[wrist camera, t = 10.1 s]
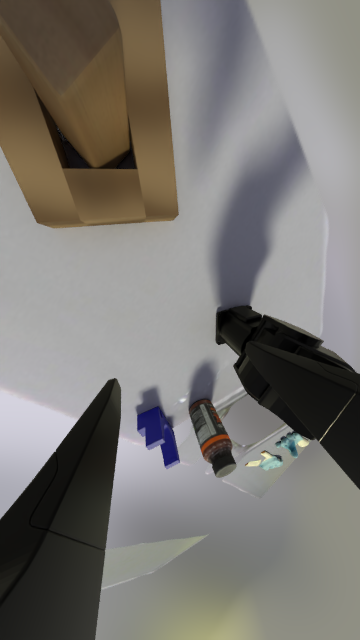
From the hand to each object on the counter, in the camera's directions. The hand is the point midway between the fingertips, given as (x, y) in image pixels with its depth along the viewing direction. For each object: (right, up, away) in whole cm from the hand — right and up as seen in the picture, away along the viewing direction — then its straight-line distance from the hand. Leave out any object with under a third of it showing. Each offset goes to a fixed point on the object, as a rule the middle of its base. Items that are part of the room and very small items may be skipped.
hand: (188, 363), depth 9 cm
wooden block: (-8, +18, +3) cm, 20 cm away
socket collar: (-8, +18, +3) cm, 20 cm away
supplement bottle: (+4, -18, +24) cm, 30 cm away
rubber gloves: (+49, -63, +60) cm, 100 cm away
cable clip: (-6, -21, +22) cm, 31 cm away
